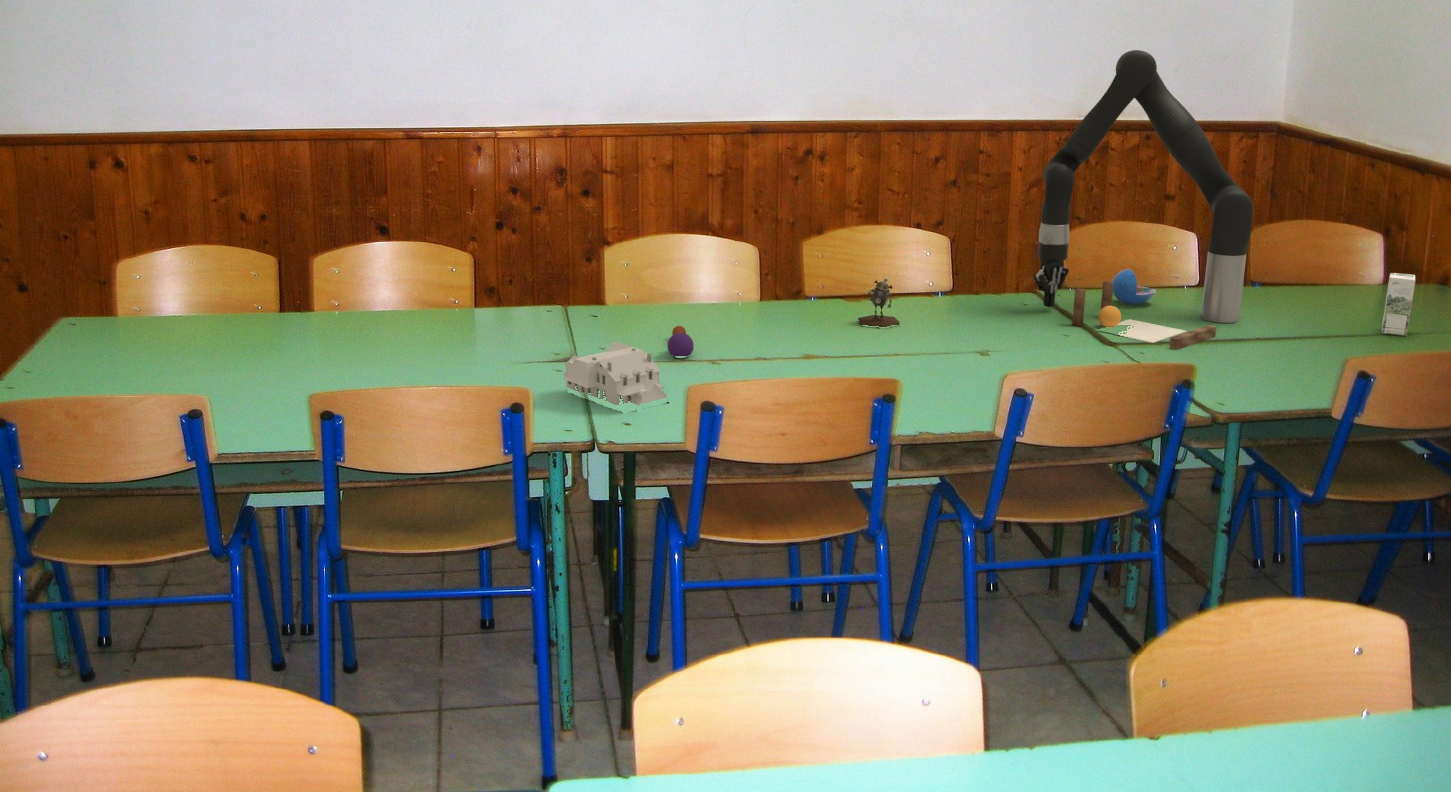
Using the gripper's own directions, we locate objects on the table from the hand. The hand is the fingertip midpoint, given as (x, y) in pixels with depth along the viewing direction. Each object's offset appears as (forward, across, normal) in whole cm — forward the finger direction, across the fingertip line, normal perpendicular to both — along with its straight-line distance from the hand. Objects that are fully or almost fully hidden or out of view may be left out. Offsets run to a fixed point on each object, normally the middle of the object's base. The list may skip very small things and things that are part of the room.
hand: (1048, 306), depth 361 cm
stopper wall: (+2, 0, +41) cm, 41 cm away
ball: (-1, +3, +20) cm, 20 cm away
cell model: (+2, -24, +10) cm, 26 cm away
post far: (+2, -6, +13) cm, 15 cm away
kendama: (+2, +95, -37) cm, 102 cm away
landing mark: (+2, 0, +27) cm, 27 cm away
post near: (+2, +6, +13) cm, 15 cm away
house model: (+2, +128, -17) cm, 129 cm away
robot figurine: (+2, +42, -22) cm, 47 cm away
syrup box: (+2, -45, +70) cm, 83 cm away
